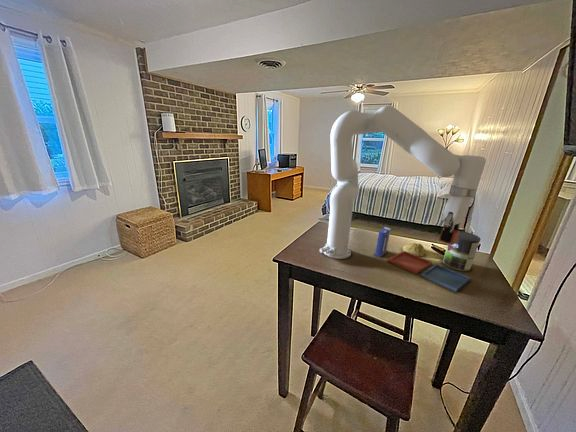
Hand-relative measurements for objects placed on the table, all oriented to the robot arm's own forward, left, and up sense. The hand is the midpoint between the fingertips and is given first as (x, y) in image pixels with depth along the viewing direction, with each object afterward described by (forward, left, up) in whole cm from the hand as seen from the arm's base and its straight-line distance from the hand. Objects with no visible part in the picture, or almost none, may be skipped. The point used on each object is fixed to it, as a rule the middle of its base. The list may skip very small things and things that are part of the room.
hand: (448, 239), depth 90 cm
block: (0, 0, -1) cm, 1 cm away
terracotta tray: (0, +12, -16) cm, 20 cm away
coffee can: (+16, -1, -16) cm, 23 cm away
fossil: (+13, +16, -16) cm, 26 cm away
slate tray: (0, -2, -16) cm, 16 cm away
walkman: (-2, +24, -16) cm, 29 cm away
